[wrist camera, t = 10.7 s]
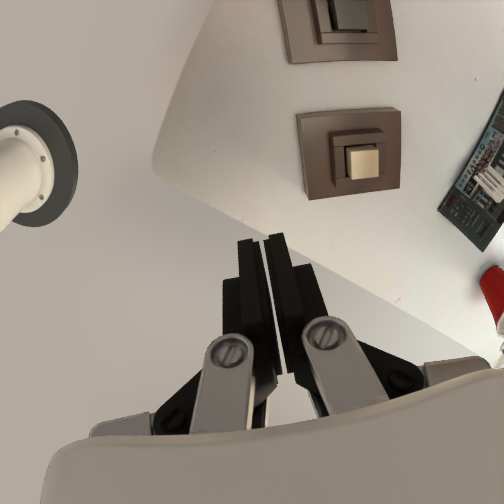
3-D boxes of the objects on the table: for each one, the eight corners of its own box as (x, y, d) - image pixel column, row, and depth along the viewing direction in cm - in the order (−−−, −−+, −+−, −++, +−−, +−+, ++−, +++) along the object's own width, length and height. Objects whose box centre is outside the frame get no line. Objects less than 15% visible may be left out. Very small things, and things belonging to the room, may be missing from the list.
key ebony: (333, 30, 24) (338, 29, 22) (328, 1, 22) (333, -1, 20) (363, 30, 23) (369, 29, 22) (358, 2, 22) (365, 0, 20)
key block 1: (288, 63, 29) (295, 64, 26) (273, -18, 23) (278, -27, 20) (389, 60, 28) (405, 62, 25) (378, -17, 22) (393, -23, 19)
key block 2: (305, 192, 38) (311, 207, 35) (296, 114, 32) (303, 121, 29) (392, 181, 37) (405, 194, 34) (392, 107, 32) (408, 114, 28)
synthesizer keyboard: (483, 257, 34) (481, 227, 27) (439, 215, 41) (425, 180, 34) (552, 158, 28) (557, 115, 21) (508, 128, 35) (503, 85, 28)
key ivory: (346, 174, 33) (351, 180, 32) (345, 147, 31) (350, 152, 30) (372, 170, 33) (378, 176, 31) (372, 144, 31) (378, 149, 29)
